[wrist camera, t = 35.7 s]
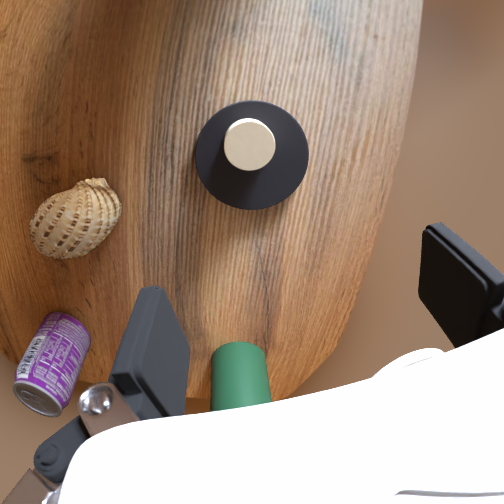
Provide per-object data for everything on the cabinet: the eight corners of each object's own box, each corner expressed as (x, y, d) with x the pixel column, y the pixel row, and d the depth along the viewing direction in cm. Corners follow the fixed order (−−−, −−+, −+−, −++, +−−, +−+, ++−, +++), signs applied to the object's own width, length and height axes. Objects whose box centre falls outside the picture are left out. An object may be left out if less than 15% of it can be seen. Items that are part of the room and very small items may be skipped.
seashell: (76, 158, 29) (27, 238, 28) (65, 149, 23) (8, 245, 23) (133, 199, 32) (83, 278, 31) (132, 197, 26) (73, 293, 25)
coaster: (328, 141, 28) (330, 142, 27) (267, 225, 31) (268, 228, 31) (234, 79, 24) (234, 79, 24) (175, 174, 28) (174, 176, 28)
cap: (238, 110, 25) (239, 112, 23) (279, 132, 26) (284, 136, 24) (215, 151, 27) (215, 157, 25) (257, 171, 28) (259, 179, 26)
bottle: (274, 349, 40) (297, 476, 24) (250, 381, 43) (262, 496, 27) (223, 335, 38) (227, 470, 23) (203, 369, 41) (201, 491, 25)
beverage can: (43, 335, 36) (11, 401, 26) (47, 299, 34) (6, 369, 23) (88, 355, 39) (64, 426, 28) (96, 322, 36) (66, 399, 25)
